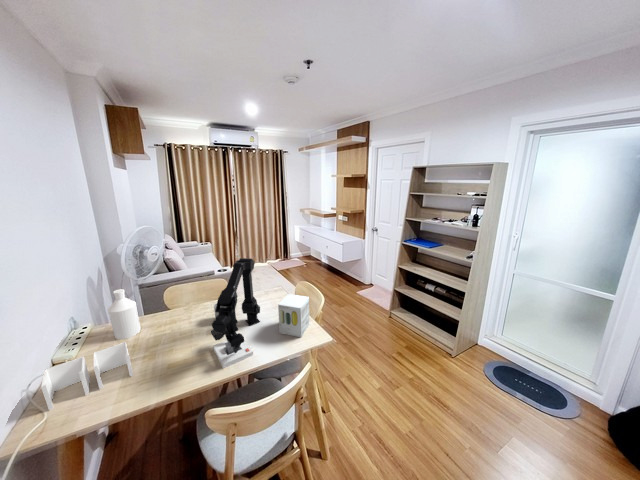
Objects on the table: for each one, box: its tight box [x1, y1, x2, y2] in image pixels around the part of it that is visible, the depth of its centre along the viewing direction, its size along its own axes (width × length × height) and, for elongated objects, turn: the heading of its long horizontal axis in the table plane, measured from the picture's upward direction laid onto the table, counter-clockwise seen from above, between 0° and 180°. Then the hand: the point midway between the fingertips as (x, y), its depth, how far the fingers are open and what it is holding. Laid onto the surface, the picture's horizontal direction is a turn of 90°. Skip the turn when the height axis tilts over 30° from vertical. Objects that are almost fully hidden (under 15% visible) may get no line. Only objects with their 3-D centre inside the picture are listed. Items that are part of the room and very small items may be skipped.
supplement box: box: [277, 293, 311, 338], centre depth 138 cm, size 13×13×18 cm
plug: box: [225, 342, 240, 355], centre depth 121 cm, size 4×5×6 cm
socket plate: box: [212, 339, 254, 369], centre depth 121 cm, size 16×14×2 cm
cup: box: [213, 302, 225, 319], centre depth 147 cm, size 8×8×10 cm
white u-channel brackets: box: [40, 341, 134, 411], centre depth 102 cm, size 25×11×11 cm, turn 131°
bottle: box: [107, 288, 142, 340], centre depth 133 cm, size 12×12×25 cm
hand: (232, 347), depth 121 cm, fingers open, 9 cm apart
